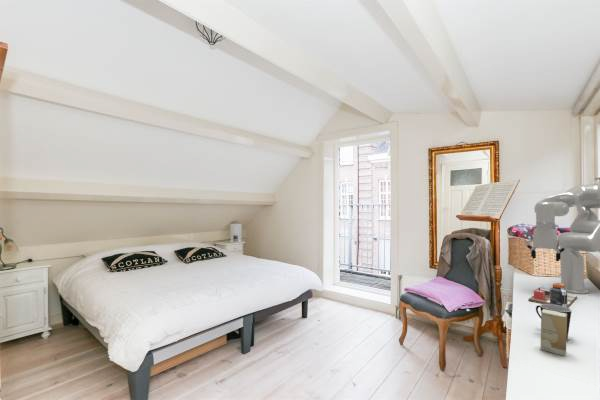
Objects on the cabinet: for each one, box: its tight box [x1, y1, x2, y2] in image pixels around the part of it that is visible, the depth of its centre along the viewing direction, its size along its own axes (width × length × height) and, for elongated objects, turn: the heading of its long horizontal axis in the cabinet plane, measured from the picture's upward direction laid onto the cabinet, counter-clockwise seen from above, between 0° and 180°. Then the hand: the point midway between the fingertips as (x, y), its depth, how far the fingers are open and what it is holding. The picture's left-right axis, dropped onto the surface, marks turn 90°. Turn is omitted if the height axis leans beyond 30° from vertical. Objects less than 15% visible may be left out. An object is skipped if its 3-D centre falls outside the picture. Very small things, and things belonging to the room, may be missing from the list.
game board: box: [528, 286, 578, 309], centre depth 153 cm, size 24×14×3 cm, turn 131°
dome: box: [540, 284, 551, 291], centre depth 160 cm, size 5×5×4 cm
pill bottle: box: [550, 282, 568, 307], centre depth 139 cm, size 6×6×11 cm
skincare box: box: [539, 309, 568, 357], centre depth 99 cm, size 6×4×12 cm
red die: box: [533, 289, 545, 300], centre depth 151 cm, size 4×4×4 cm
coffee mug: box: [535, 303, 572, 340], centre depth 112 cm, size 12×9×10 cm
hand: (545, 259), depth 159 cm, fingers open, 9 cm apart
